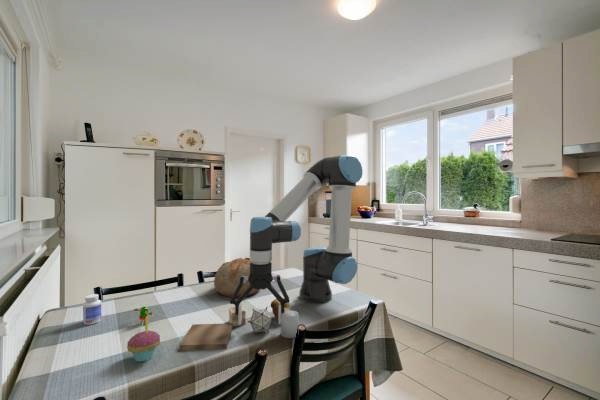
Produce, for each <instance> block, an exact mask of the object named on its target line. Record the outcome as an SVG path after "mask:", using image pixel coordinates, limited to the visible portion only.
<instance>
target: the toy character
mask: <svg viewBox="0 0 600 400" xmlns="http://www.w3.org/2000/svg"><path fill="white" fill-rule="evenodd" d="M133 311H134V312H137V311H138V312H139V316H138V319H139V321H141V322H140V323H139V325H143V326H145V324H146V316H147V313H148V316H150V315H151V316H153V315H155V314H154V312H152V311H151V312H149V308H148V307H146V306H142V307H140V309H139V308H133Z"/></svg>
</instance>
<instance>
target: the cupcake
mask: <svg viewBox="0 0 600 400" xmlns="http://www.w3.org/2000/svg"><path fill="white" fill-rule="evenodd" d="M148 313H149V312H148ZM148 313H147V316H146V319H145V322H146V324H145V325H144V327H145V328H144V330H143V331H139V332H137V333H136V334H134V335H133V336H131V338H130V339H129V340H128V341H127V346H126V347H127V352H129V353H131V354H132V356H133V358H134V360H135V362H139V363H141V362H146V361H148V360H150V359H151V358H152V357H154V354H155V351H156V348H157V346H159V345H160V343H161V338H160V337H161V334H159V333H158V332H157V331H153V330H149V328H148V327H149V315H148Z"/></svg>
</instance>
